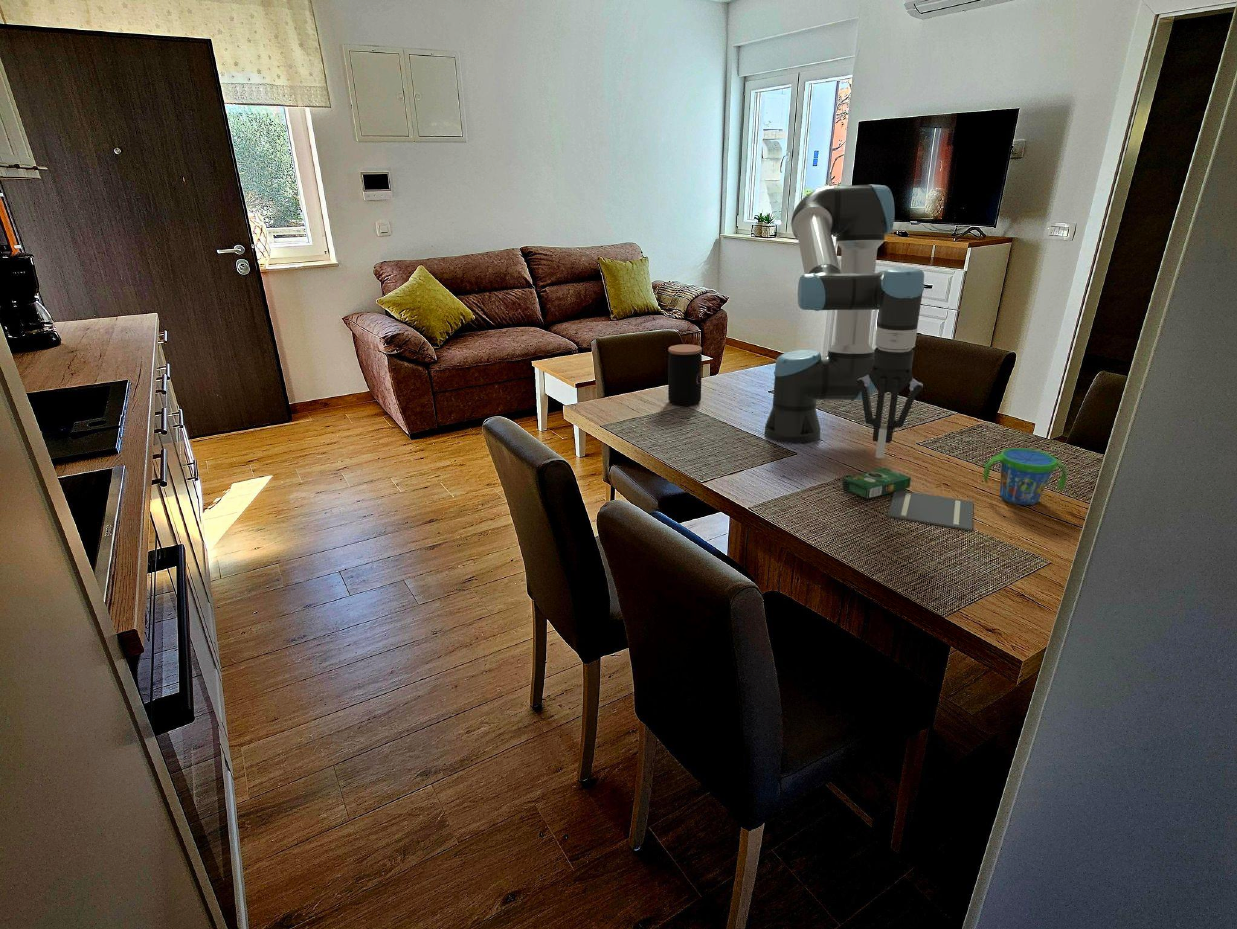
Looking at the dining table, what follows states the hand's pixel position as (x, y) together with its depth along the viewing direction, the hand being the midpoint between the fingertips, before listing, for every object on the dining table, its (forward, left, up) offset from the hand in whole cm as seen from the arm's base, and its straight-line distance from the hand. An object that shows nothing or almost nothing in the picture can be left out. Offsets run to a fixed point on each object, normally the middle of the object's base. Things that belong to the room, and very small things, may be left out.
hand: (880, 455), depth 145 cm
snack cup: (+29, +13, -11) cm, 33 cm away
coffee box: (-4, +1, -9) cm, 10 cm away
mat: (+12, 0, -11) cm, 16 cm away
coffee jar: (-65, +52, -11) cm, 84 cm away
